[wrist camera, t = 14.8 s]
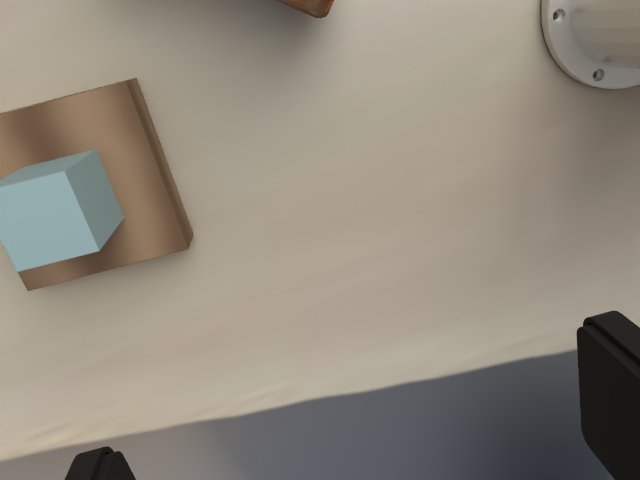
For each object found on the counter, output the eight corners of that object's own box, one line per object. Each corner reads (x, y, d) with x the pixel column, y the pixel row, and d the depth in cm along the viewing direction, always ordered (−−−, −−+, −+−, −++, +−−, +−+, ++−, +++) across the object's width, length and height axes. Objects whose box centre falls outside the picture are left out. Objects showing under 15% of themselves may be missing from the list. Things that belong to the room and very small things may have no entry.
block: (96, 148, 34) (64, 171, 29) (124, 217, 36) (99, 251, 30) (22, 167, 34) (-24, 193, 28) (54, 235, 36) (17, 272, 30)
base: (136, 77, 35) (125, 81, 33) (193, 233, 40) (188, 248, 37) (-33, 122, 35) (-58, 129, 33) (44, 273, 40) (27, 291, 37)
